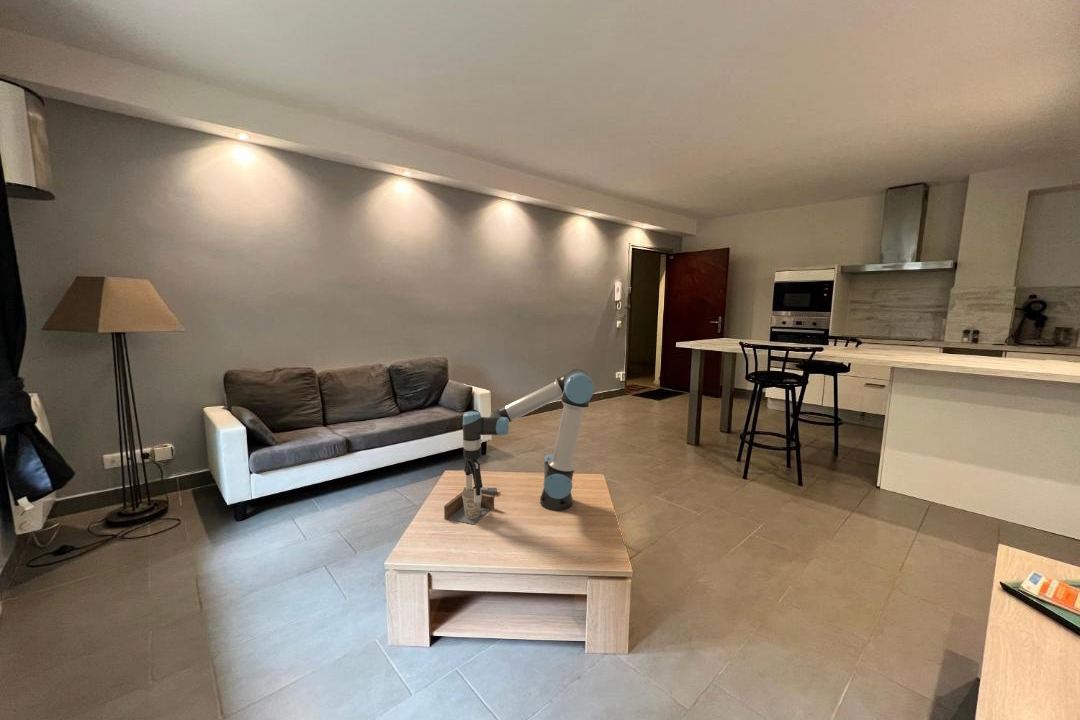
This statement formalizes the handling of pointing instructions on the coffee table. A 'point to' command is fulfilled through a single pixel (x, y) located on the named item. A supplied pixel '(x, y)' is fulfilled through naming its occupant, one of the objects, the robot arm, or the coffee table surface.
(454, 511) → the brown corner wall
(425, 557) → the coffee table surface
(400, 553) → the coffee table surface
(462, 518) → the mat
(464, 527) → the coffee table surface
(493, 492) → the remote
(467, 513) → the mug
